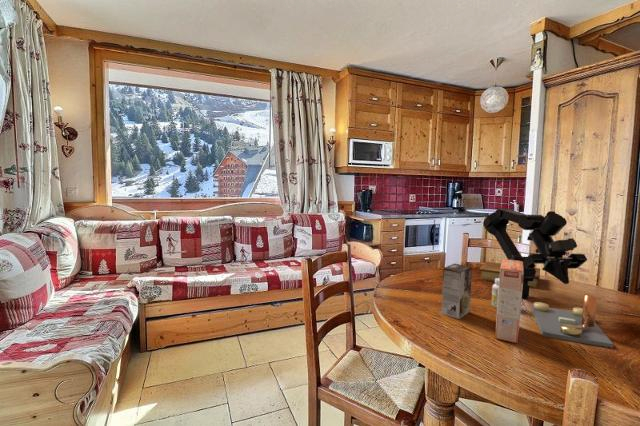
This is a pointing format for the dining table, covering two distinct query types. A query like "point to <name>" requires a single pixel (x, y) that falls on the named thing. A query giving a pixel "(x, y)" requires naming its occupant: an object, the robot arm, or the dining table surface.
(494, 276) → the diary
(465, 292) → the coffee box
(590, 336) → the base
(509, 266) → the cracker box
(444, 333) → the dining table surface
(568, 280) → the robot arm
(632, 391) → the dining table surface
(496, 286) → the supplement bottle
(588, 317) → the screw handle
